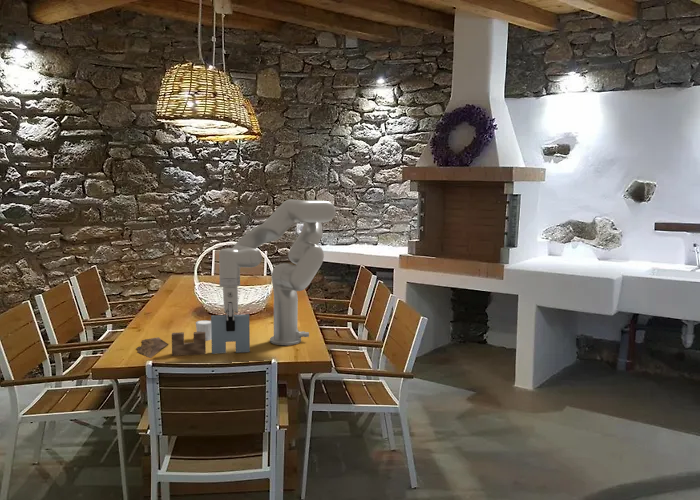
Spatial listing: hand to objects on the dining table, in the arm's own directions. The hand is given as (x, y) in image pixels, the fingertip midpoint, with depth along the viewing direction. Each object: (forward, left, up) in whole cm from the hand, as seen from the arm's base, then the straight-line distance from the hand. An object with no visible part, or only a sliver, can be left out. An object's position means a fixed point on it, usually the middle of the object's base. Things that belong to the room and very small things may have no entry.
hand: (230, 329), depth 230 cm
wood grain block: (+15, 0, -9) cm, 18 cm away
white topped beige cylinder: (+10, -20, -9) cm, 24 cm away
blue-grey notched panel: (0, 0, -9) cm, 9 cm away
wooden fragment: (+29, -10, -9) cm, 32 cm away
